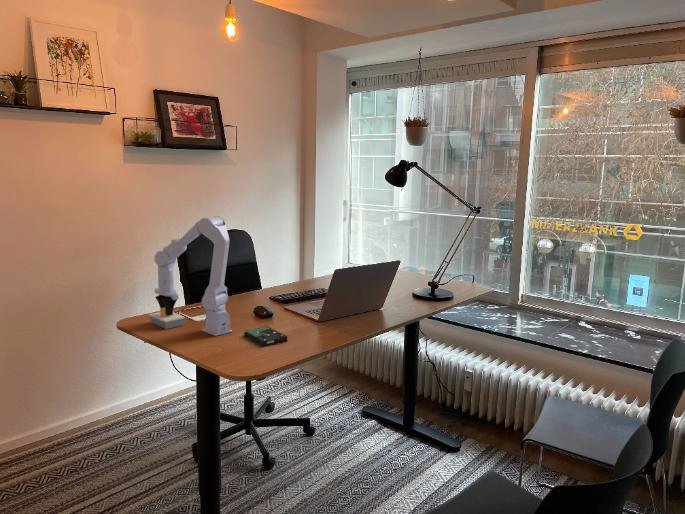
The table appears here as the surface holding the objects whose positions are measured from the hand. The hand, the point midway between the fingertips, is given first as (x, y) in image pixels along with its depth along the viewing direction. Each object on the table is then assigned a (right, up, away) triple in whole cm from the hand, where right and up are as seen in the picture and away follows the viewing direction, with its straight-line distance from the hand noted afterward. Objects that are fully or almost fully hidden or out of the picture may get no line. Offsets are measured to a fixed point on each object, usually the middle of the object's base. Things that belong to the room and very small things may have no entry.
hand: (166, 314), depth 212 cm
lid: (0, -1, 0) cm, 1 cm away
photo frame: (+9, -2, +17) cm, 19 cm away
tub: (0, -4, +1) cm, 4 cm away
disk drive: (+41, -9, -13) cm, 44 cm away
